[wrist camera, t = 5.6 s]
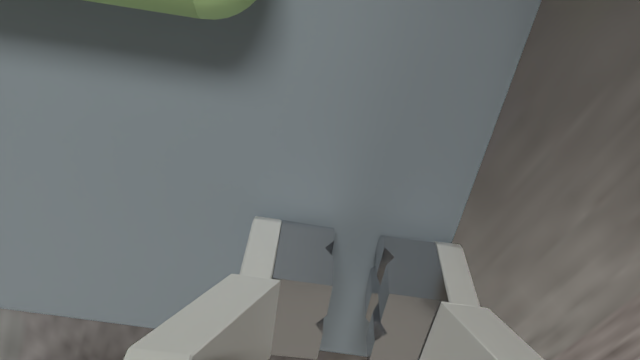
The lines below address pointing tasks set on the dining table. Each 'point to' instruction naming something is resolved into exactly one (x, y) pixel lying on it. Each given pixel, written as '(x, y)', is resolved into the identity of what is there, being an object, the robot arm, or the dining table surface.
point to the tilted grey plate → (235, 140)
